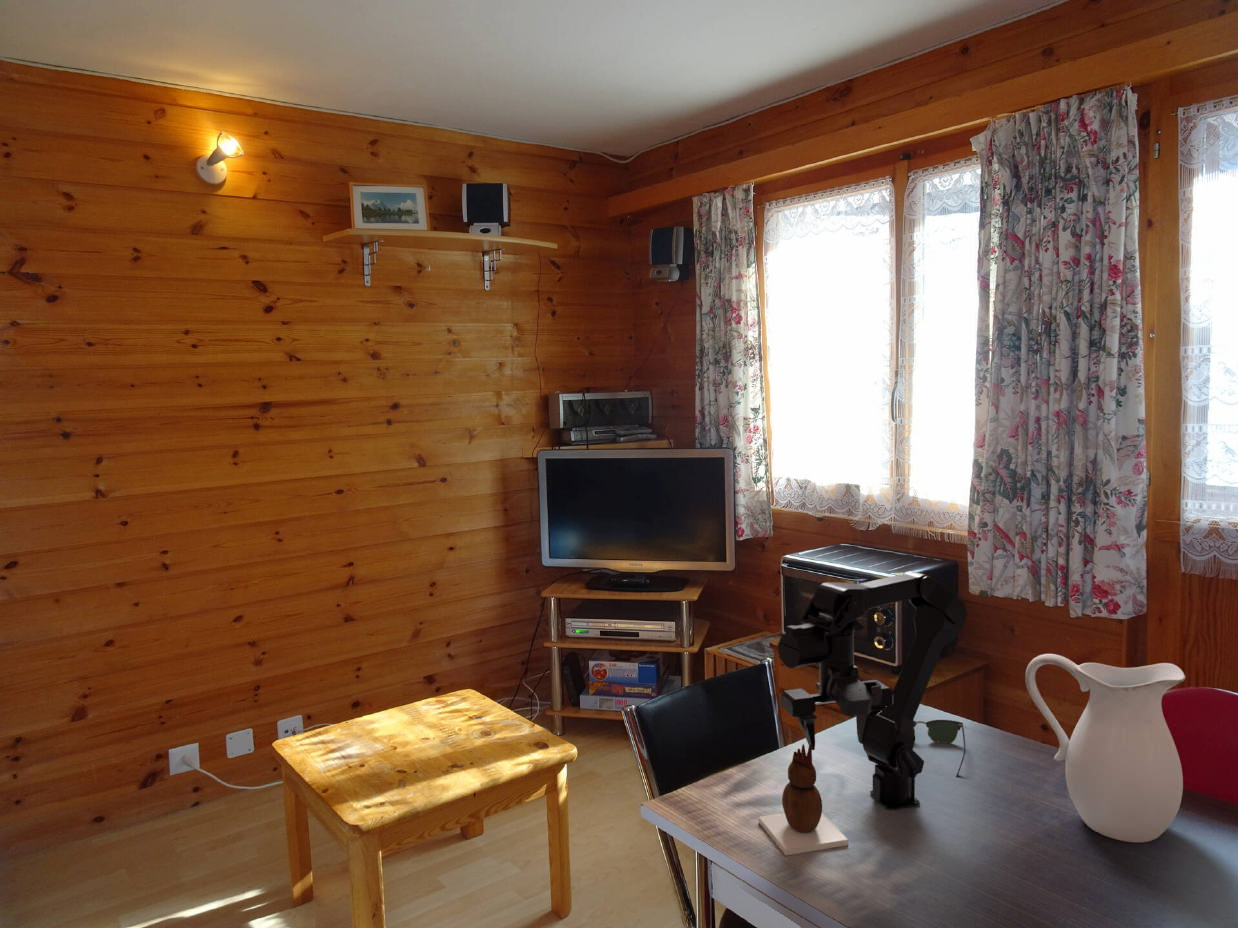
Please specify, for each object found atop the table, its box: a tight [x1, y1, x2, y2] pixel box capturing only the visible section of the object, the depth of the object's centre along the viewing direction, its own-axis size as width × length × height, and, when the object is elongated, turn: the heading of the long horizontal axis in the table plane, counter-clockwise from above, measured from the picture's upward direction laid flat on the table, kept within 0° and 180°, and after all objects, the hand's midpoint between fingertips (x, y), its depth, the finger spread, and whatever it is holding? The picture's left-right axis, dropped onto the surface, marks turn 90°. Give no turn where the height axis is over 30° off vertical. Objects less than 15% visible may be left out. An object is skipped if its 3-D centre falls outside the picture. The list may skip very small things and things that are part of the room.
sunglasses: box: [913, 719, 966, 778], centre depth 175 cm, size 16×17×5 cm
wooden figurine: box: [781, 744, 823, 832], centre depth 146 cm, size 7×6×15 cm
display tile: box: [758, 812, 849, 856], centre depth 146 cm, size 11×11×1 cm
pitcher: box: [1024, 653, 1186, 843], centre depth 147 cm, size 24×17×28 cm
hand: (836, 745), depth 150 cm, fingers open, 9 cm apart
